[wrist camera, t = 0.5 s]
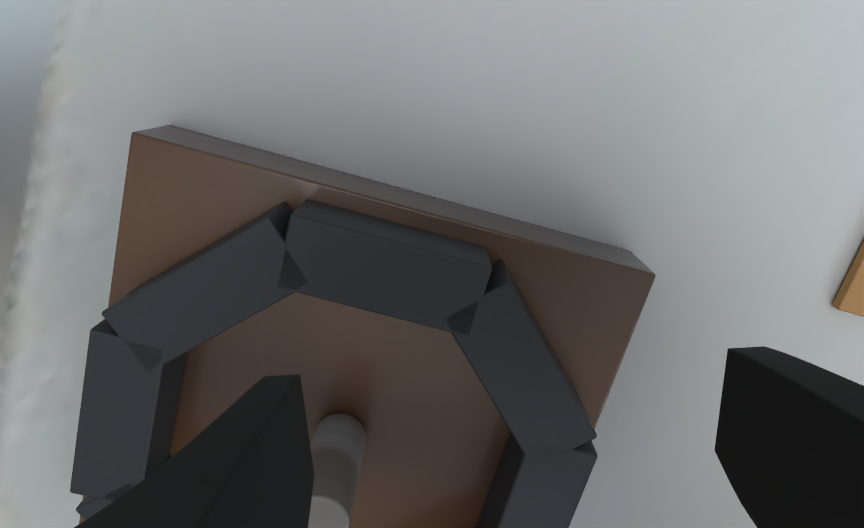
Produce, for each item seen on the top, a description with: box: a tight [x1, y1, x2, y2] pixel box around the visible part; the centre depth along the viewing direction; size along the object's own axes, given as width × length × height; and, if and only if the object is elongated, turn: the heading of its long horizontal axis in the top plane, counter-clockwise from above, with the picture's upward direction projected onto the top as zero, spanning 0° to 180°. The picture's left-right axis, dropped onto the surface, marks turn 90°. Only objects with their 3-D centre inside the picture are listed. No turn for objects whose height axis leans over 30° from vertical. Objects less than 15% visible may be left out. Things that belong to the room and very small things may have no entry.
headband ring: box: [70, 199, 597, 528], centre depth 19 cm, size 14×14×2 cm
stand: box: [79, 125, 655, 528], centre depth 19 cm, size 15×15×6 cm
